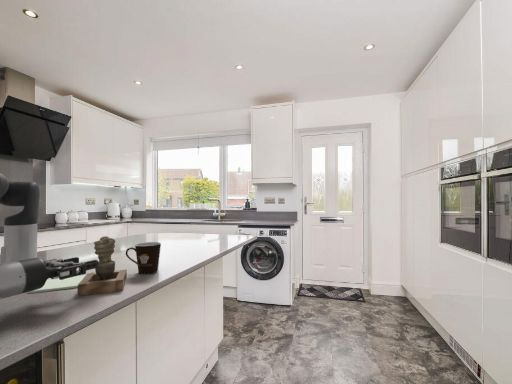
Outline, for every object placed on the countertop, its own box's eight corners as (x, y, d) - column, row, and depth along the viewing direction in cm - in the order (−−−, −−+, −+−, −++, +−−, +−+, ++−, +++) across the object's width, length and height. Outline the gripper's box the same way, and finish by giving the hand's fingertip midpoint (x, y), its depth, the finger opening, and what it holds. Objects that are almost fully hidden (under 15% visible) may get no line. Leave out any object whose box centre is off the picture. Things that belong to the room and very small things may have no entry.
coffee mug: (166, 270, 95) (166, 242, 96) (147, 276, 88) (147, 246, 88) (143, 267, 100) (143, 241, 101) (123, 272, 92) (123, 244, 93)
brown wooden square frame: (77, 296, 70) (77, 284, 70) (87, 283, 81) (87, 273, 81) (122, 290, 74) (123, 279, 74) (126, 278, 85) (126, 269, 85)
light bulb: (105, 290, 74) (105, 237, 75) (88, 289, 75) (89, 237, 76) (119, 284, 80) (119, 235, 80) (103, 283, 81) (104, 234, 81)
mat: (27, 293, 72) (27, 291, 72) (44, 281, 83) (44, 279, 84) (78, 287, 77) (78, 285, 77) (87, 276, 88) (87, 274, 88)
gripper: (32, 264, 56) (104, 250, 70) (0, 258, 62) (72, 247, 76) (31, 299, 56) (103, 278, 70) (-1, 290, 62) (72, 272, 76)
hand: (87, 262), depth 73 cm, fingers open, 8 cm apart
